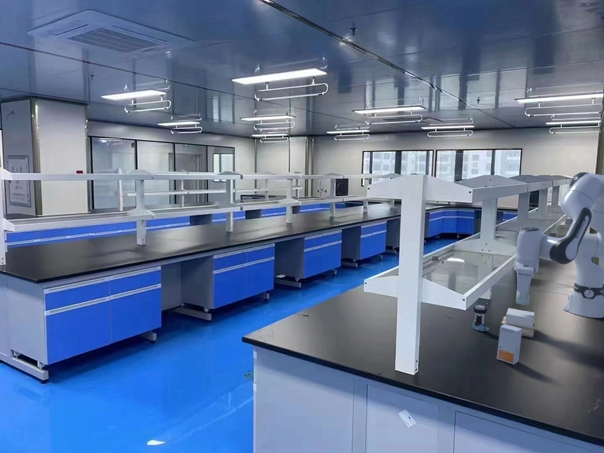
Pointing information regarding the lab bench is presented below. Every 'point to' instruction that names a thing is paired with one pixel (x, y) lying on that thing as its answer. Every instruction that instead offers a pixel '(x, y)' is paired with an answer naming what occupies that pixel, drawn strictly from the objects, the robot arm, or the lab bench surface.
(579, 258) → the robot arm
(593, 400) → the lab bench surface
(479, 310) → the push button
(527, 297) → the pale blue egg shape
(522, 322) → the white top block
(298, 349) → the lab bench surface
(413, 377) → the lab bench surface
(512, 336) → the skincare box
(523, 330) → the maple base block
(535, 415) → the lab bench surface
